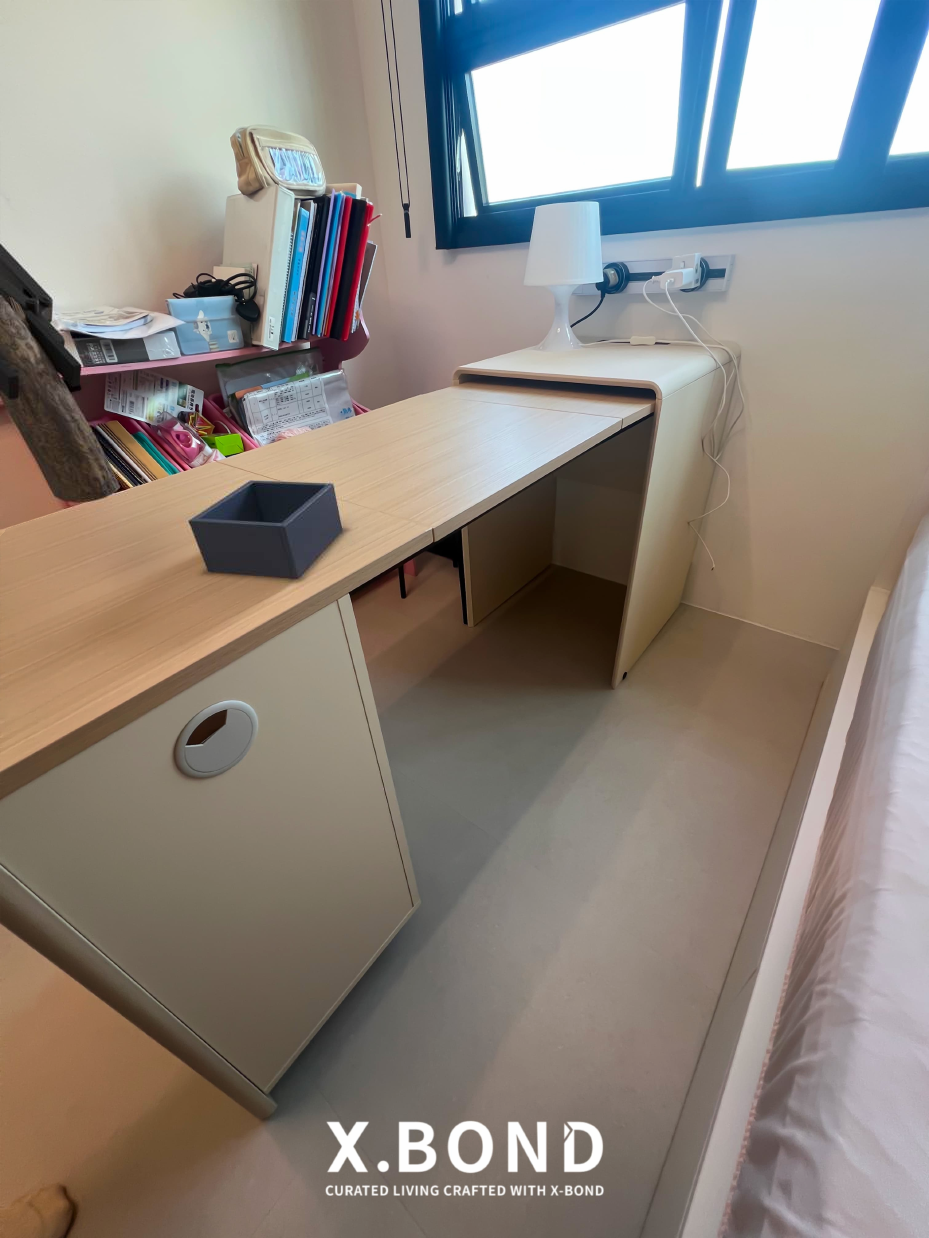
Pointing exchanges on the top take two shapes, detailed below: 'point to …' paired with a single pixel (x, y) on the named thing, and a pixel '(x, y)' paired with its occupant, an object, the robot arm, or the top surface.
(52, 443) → the statue
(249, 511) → the bin
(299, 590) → the top surface
